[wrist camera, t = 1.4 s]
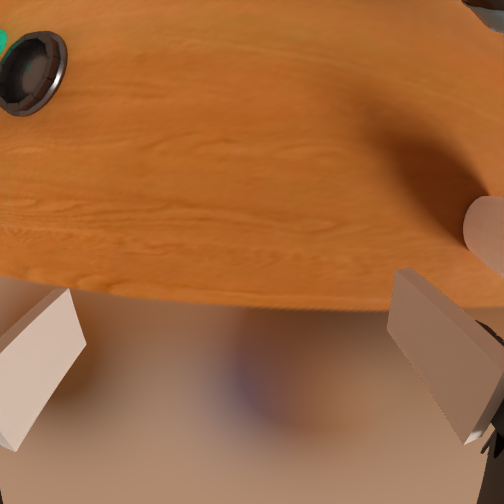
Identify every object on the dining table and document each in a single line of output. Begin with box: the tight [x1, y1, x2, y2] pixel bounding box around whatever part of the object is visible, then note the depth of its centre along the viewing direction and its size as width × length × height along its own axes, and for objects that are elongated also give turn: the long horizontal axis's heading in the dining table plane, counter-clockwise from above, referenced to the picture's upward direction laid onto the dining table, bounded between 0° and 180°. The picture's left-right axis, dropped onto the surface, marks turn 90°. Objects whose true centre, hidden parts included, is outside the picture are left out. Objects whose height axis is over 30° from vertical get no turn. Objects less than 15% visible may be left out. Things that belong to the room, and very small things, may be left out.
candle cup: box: [0, 31, 68, 117], centre depth 27 cm, size 13×13×3 cm
